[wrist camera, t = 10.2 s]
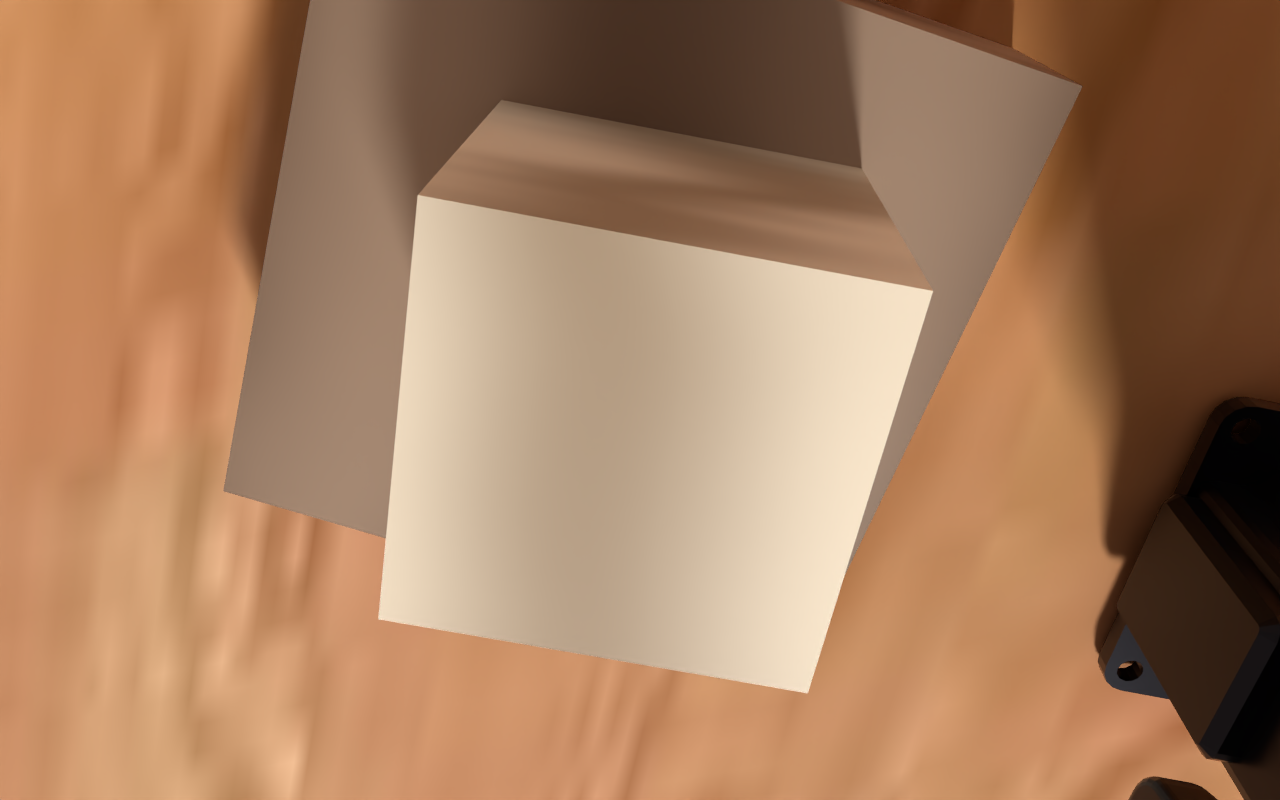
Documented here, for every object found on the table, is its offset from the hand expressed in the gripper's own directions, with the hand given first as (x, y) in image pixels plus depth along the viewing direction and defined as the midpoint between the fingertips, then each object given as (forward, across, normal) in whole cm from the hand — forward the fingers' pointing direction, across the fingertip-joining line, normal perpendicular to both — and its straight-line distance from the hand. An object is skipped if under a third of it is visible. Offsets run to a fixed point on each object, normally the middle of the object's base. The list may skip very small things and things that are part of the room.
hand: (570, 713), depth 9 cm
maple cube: (+8, 0, 0) cm, 9 cm away
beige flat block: (+12, 0, 0) cm, 13 cm away
